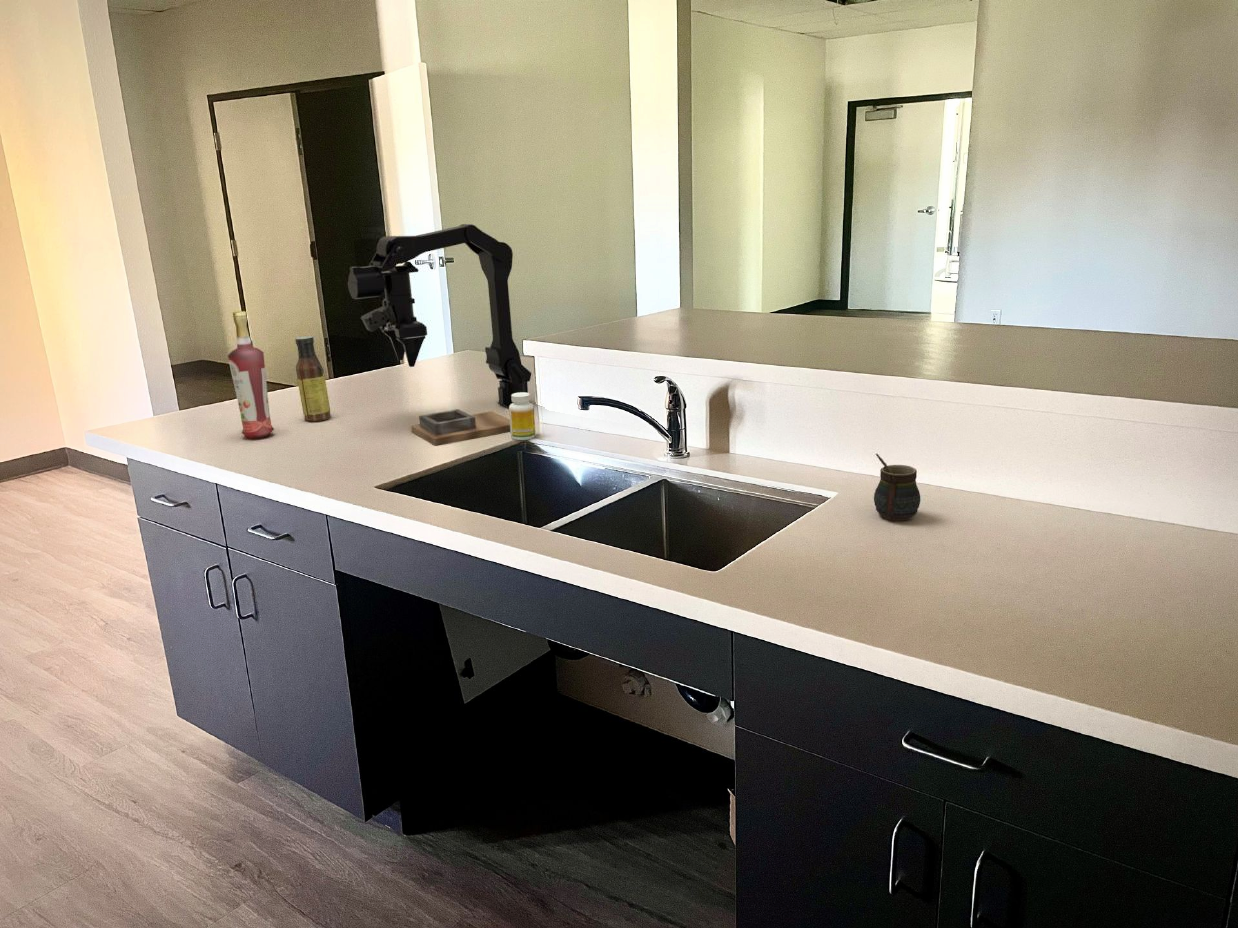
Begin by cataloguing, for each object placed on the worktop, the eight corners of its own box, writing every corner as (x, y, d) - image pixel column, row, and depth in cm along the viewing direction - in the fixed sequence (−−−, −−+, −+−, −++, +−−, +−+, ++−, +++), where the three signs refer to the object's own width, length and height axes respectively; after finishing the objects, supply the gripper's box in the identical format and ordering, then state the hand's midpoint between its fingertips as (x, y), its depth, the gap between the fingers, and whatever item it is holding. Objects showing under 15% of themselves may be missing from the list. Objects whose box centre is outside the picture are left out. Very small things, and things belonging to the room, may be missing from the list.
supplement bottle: (507, 436, 198) (504, 393, 195) (530, 432, 200) (527, 390, 197) (515, 442, 193) (512, 398, 190) (539, 438, 195) (536, 395, 192)
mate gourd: (913, 527, 140) (916, 466, 137) (865, 520, 144) (867, 460, 141) (925, 512, 146) (928, 453, 143) (878, 505, 150) (881, 448, 147)
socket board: (492, 417, 214) (490, 401, 212) (519, 429, 202) (517, 412, 201) (411, 431, 203) (409, 414, 202) (435, 445, 192) (433, 427, 191)
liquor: (281, 435, 204) (263, 311, 195) (250, 442, 199) (230, 315, 190) (266, 430, 209) (247, 308, 200) (235, 437, 204) (214, 313, 195)
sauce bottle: (336, 417, 218) (326, 335, 212) (318, 423, 213) (307, 340, 207) (315, 415, 221) (304, 334, 215) (297, 421, 216) (285, 338, 210)
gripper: (352, 293, 205) (360, 361, 210) (372, 302, 189) (381, 375, 194) (400, 289, 210) (407, 355, 215) (424, 297, 194) (431, 368, 199)
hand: (406, 363), depth 206 cm, fingers open, 9 cm apart
